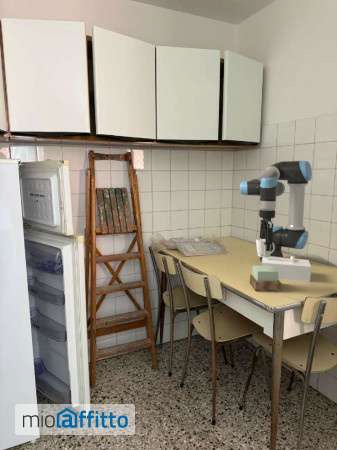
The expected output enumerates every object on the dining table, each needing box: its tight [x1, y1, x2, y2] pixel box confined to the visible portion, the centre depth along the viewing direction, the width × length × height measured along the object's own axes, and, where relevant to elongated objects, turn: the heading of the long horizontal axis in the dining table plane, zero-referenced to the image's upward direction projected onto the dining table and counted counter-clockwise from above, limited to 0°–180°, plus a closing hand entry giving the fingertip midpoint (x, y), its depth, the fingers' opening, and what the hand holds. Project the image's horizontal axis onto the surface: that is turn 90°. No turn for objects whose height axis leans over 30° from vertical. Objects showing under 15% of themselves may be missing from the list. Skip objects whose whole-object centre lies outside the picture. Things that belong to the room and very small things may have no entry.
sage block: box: [251, 265, 279, 281], centre depth 155 cm, size 10×10×5 cm
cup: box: [255, 238, 275, 258], centre depth 154 cm, size 7×10×8 cm
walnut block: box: [249, 274, 282, 293], centre depth 156 cm, size 12×12×5 cm
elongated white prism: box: [261, 255, 312, 283], centre depth 174 cm, size 14×25×11 cm, turn 71°
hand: (264, 255), depth 154 cm, fingers closed on cup, 6 cm apart
